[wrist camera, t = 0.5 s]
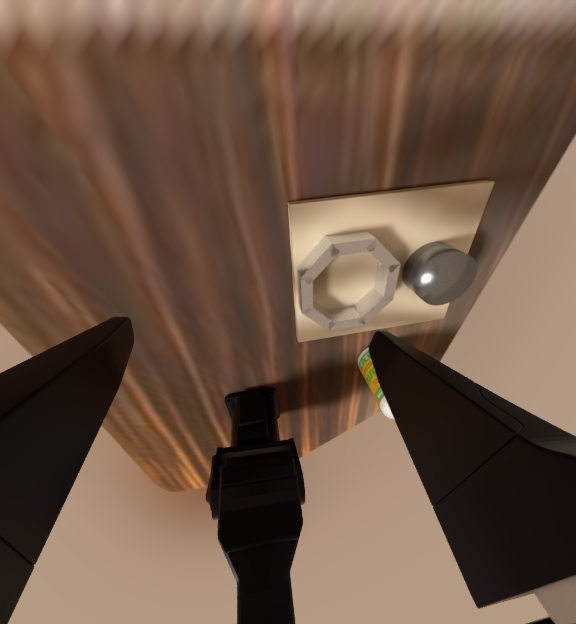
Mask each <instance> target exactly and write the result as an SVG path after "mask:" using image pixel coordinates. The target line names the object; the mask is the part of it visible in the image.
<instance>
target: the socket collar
mask: <svg viewBox="0 0 576 624" xmlns="http://www.w3.org/2000/svg"><path fill="white" fill-rule="evenodd" d="M361 252H369V253H370V254H371V255H372V256H373V257H374V258H375V259H376V260H377V261H378V263H377V270H376V276H375V283H374V287H373V288H372V289H371V290H370V291H369V292H368V293H367V294H366V295H365V296H364V297H363V298H361V299H360V300H359V301H358V302H357V303H356V304H355V305H354V306H351V307H344V308H338V309H332V310H326V309H325V308H323V307H322V306H321V305H319V304H318V303H316V302H315V301H313V280H314V279H315V278H316V277H317V276H318V275H319V274H320V273H321V272H322V271H323V270H324V269H325V268H326V266H327V265H328V264H329V263H330V262H331V261H332V260H333V259H334V258H335V257H336V256H339V255H347V254H354V253H361ZM400 265H401V264H400V263H399V262H398V261H397V260H396V259H395V258H394V257H393V255H392V254H391V253H390V252H389V251H388V250H387V249H386V248H385V247H384V246H383V245H382V244H381V243H380V242H379V241H378V240H377V238H375V237H374V236H373V235H371V234H370V233H368V232H367V231H359V232H351V233H344V234H336V235H328V236H324V237H323V238H322V239H321V240H320V241H319V243H318V244H317V245H316V246H315V247H314V248H313V249H312V251H311V252H310V253H309V254H308V255H307V256H306V257H305V258H304V260H303V261H302V262H301V263H300V264H299V265H298V266H297V267H296V275H297V293H298V303H299V306H300V309H301V312H302V314H304V315H305V316H307V317H308V318H310V319H311V320H313V321H314V322H316V323H317V324H319V325H321V326H322V327H324V328H325V329H327V330H328V331H331V330H337V329H343V328H349V327H356V326H362V325H365V324H366V323H367V322H368V321H369V320H371V319H372V318H373V317H374V316H375V315H376V314H377V313H379V312H380V311H381V310H382V309H383V308H384V307H385V306H387V305H388V304H389V303H390V302H391V301H392V300H393V298H394V293H395V289H396V284H397V279H398V275H399V270H400Z"/></svg>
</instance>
